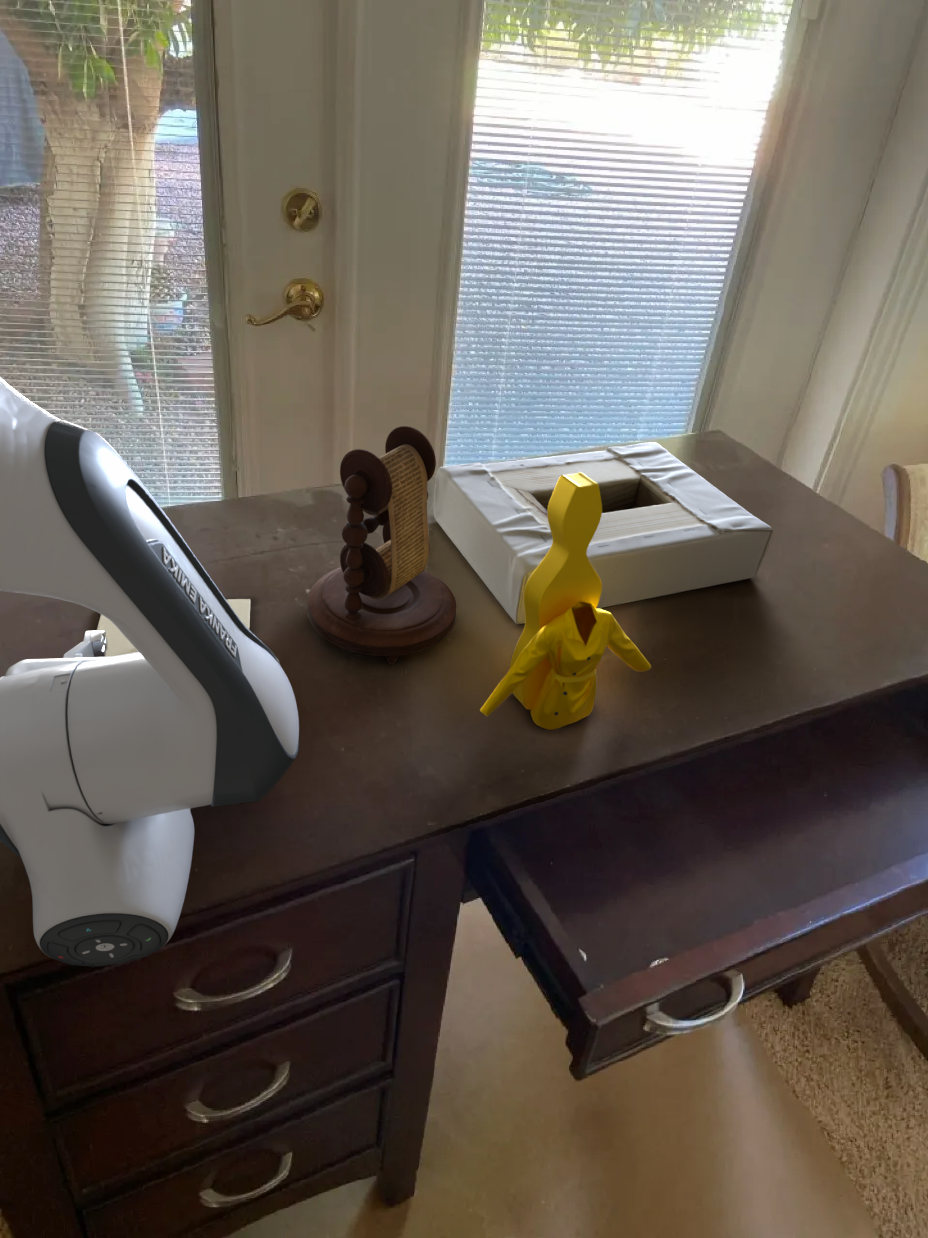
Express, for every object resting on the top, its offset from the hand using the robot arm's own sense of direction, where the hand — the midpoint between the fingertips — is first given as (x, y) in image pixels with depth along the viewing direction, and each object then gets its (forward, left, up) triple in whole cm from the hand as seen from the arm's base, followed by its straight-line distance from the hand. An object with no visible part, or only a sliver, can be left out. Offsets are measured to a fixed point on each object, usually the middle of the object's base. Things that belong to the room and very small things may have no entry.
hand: (157, 635), depth 74 cm
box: (+46, +23, -7) cm, 52 cm away
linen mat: (0, +7, -6) cm, 9 cm away
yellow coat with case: (+35, -4, -7) cm, 35 cm away
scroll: (+20, +10, -7) cm, 23 cm away
